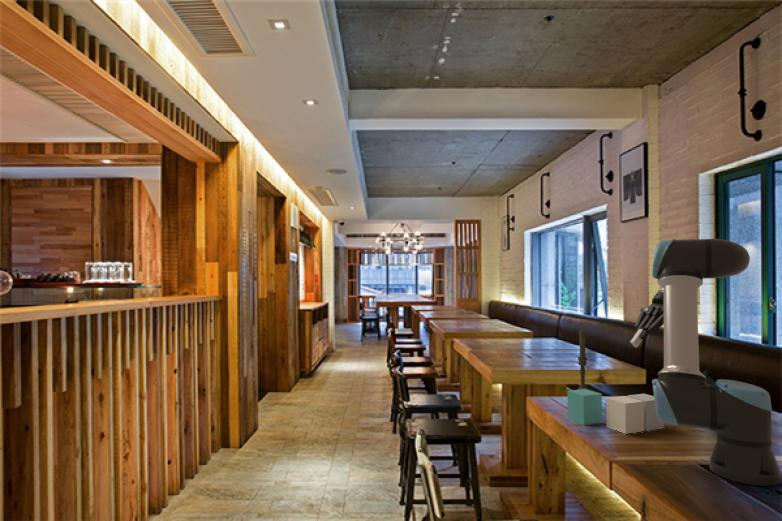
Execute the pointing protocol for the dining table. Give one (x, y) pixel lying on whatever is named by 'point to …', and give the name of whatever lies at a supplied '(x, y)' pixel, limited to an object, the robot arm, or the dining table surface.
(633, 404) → the cream block
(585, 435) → the dining table surface
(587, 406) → the teal block
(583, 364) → the candlestick holder
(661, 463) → the dining table surface
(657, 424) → the grey block
